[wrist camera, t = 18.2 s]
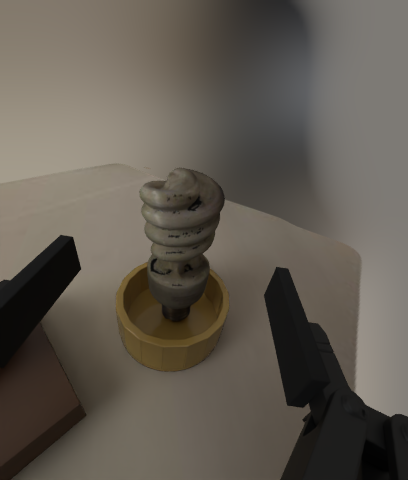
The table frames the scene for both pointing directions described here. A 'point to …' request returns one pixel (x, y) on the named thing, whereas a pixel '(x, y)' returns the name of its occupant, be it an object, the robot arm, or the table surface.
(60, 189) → the table surface
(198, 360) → the lamp holder
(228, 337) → the table surface
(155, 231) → the light bulb
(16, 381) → the switch box
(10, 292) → the robot arm
